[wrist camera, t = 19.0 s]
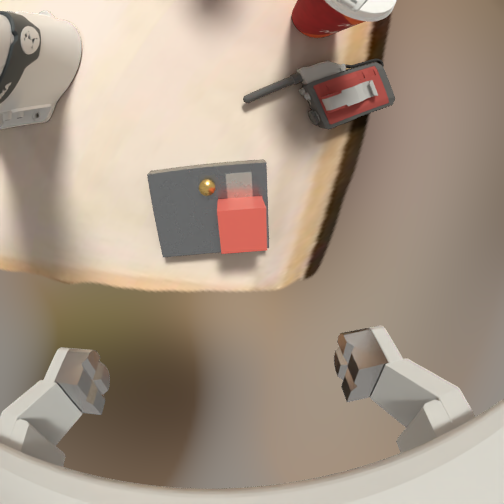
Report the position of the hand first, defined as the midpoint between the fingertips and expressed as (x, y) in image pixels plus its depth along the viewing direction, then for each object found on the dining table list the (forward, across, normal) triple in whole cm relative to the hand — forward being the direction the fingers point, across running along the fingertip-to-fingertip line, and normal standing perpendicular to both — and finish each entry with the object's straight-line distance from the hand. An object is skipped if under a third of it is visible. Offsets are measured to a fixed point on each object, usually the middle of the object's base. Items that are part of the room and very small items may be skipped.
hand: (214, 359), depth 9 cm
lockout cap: (+29, -2, +7) cm, 30 cm away
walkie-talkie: (+32, -14, -9) cm, 36 cm away
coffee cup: (+31, -13, -20) cm, 39 cm away
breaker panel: (+31, +2, +6) cm, 32 cm away
